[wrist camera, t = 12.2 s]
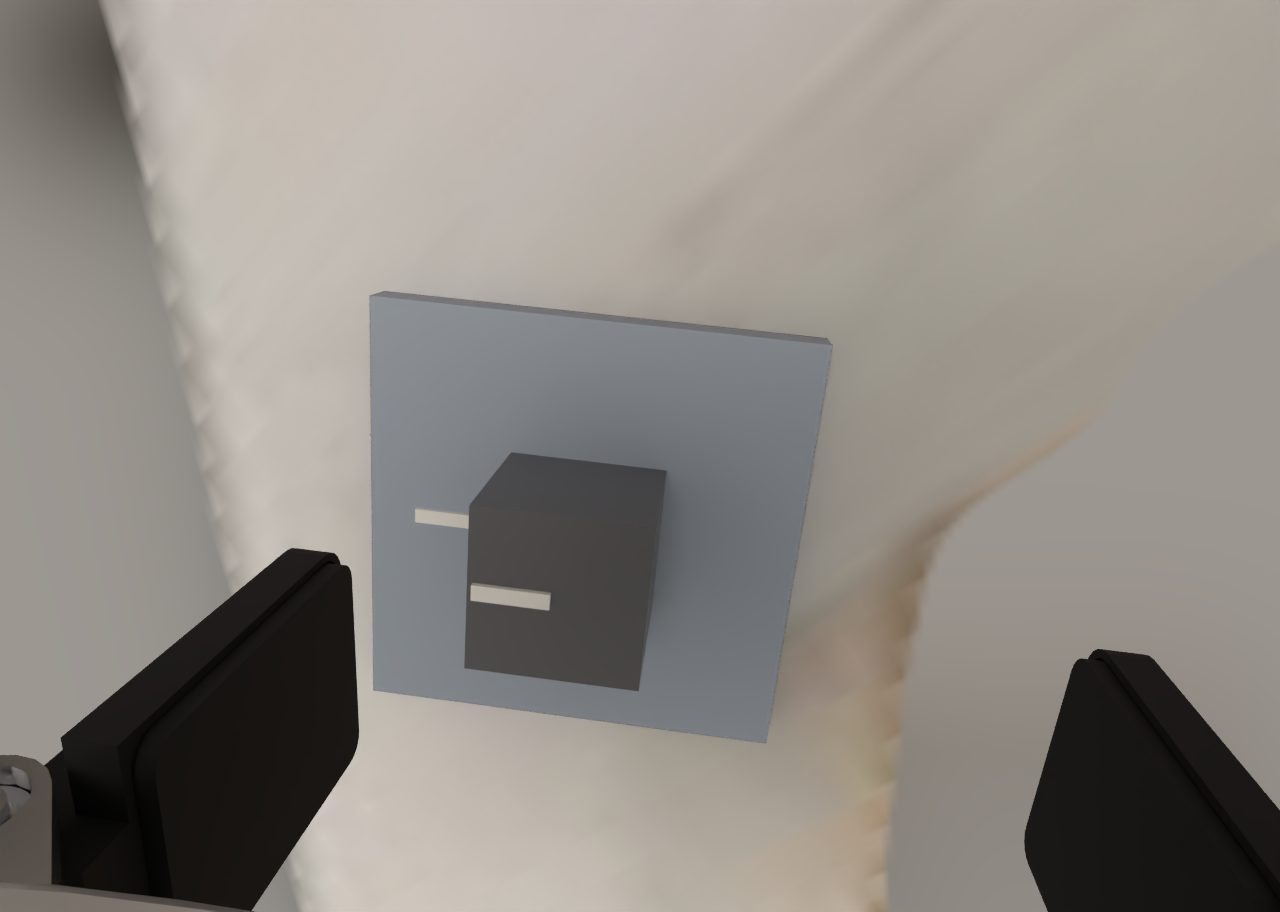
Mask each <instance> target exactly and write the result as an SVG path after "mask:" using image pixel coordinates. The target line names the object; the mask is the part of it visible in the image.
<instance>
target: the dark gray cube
mask: <svg viewBox="0 0 1280 912" xmlns="http://www.w3.org/2000/svg"><path fill="white" fill-rule="evenodd" d="M666 473H667V470H659V469H650V468H641V467H633V466H624V465H616V464H607V463H599V462H590V461H582V460H573V459H565V458H556V457H547V456H539V455H530V454H522V453H513V452H511V453H510V454H509V455H508V457H507V458H506V459H505V461H504V462H503V463H502V464H501V466H500V467H499V468H498V469H497V471H496V472H495V473H494V474H493V476H492V477H491V478H490V480H489V481H488V482H487V483H486V485H485V486H484V487H483V488H482V490H481V491H480V492H479V493H478V495H477V496H476V497H475V499H474V500H473V501H472V502H471V504H470V505H469V527H468V561H467V594H466V628H465V661H464V668H465V669H473V670H481V671H488V672H496V673H503V674H511V675H518V676H526V677H533V678H541V679H548V680H556V681H564V682H571V683H579V684H586V685H594V686H601V687H609V688H616V689H624V690H631V691H639V687H640V680H641V674H642V668H643V661H644V655H645V649H646V643H647V636H648V630H649V624H650V617H651V611H652V602H653V593H654V583H655V574H656V565H657V556H658V547H659V537H660V528H661V519H662V510H663V501H664V491H665V482H666Z"/></svg>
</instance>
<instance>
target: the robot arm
mask: <svg viewBox="0 0 1280 912" xmlns="http://www.w3.org/2000/svg"><path fill="white" fill-rule="evenodd" d="M358 738H359V721H358V700H357V679H356V657H355V636H354V615H353V593H352V576H351V571H350V569H349V567H348V566H346V565H340V561H339V559H338V556H337V555H336V554H334V553H329V552H321V551H313V550H305V549H297V548H291V549H289V550H287V551H286V552H284V553H283V554H282V555H281V556H280V557H278V558H277V559H276V560H275V561H274V562H272V563H271V564H270V565H269V566H268V567H266V568H265V569H264V570H263V571H262V572H260V573H259V574H258V575H257V576H255V577H254V578H253V579H252V580H251V581H249V582H248V583H247V584H246V585H245V586H243V587H242V588H241V589H240V590H239V591H237V592H236V593H235V594H234V595H233V596H231V597H230V598H229V599H228V600H226V601H225V602H224V603H223V604H222V605H220V606H219V607H218V608H217V609H216V610H214V611H213V612H212V613H211V614H210V615H208V616H207V617H206V618H205V619H204V620H202V621H201V622H200V623H199V624H198V625H196V626H195V627H194V628H193V629H192V630H190V631H189V632H188V633H187V634H185V635H184V636H183V637H182V638H181V639H179V640H178V641H177V642H176V643H175V644H173V645H172V646H171V647H170V648H169V649H167V650H166V651H165V652H164V653H163V654H161V655H160V656H159V657H158V658H156V659H155V660H154V661H153V662H152V663H151V664H149V665H148V666H147V667H146V668H144V669H143V670H142V671H141V672H140V673H138V674H137V675H136V676H135V677H134V678H132V679H131V680H130V681H129V682H127V683H126V684H125V685H124V686H123V687H121V688H120V689H119V690H118V691H117V692H115V693H114V694H113V695H112V696H111V697H109V698H108V699H107V700H106V701H105V702H103V703H102V704H101V705H100V706H98V707H97V708H96V709H95V710H94V711H93V712H91V713H90V714H89V715H88V716H86V717H85V718H84V719H83V720H82V721H80V722H79V723H78V724H77V725H76V726H74V727H73V728H72V729H71V730H70V731H68V732H67V733H66V734H65V735H63V736H62V737H61V742H62V747H63V750H62V751H61V752H60V753H59V754H57V755H56V756H55V757H54V758H53V759H51V760H50V761H49V762H48V763H47V764H46V765H42V764H41V763H39V762H38V761H37V760H35V759H31V758H27V757H23V756H18V755H0V912H254V911H252V909H253V908H254V906H255V904H256V903H257V902H258V900H259V899H260V897H261V896H262V894H263V893H264V891H265V890H266V888H267V887H268V885H269V884H270V882H271V881H272V879H273V877H274V876H275V875H276V873H277V872H278V870H279V869H280V867H281V865H282V864H283V863H284V861H285V860H286V858H287V857H288V855H289V854H290V852H291V851H292V849H293V848H294V846H295V845H296V843H297V842H298V840H299V839H300V837H301V836H302V834H303V833H304V831H305V830H306V828H307V827H308V825H309V824H310V822H311V821H312V819H313V818H314V816H315V815H316V813H317V812H318V810H319V809H320V807H321V806H322V804H323V803H324V801H325V800H326V798H327V797H328V795H329V794H330V792H331V791H332V789H333V788H334V786H335V785H336V783H337V782H338V780H339V779H340V777H341V776H342V774H343V773H344V771H345V770H346V768H347V767H348V765H349V764H350V762H351V760H352V759H353V756H354V754H355V751H356V748H357V744H358ZM1024 842H1025V853H1026V858H1027V861H1028V864H1029V867H1030V869H1031V872H1032V874H1033V876H1034V879H1035V881H1036V884H1037V886H1038V889H1039V891H1040V893H1041V896H1042V899H1043V901H1044V903H1045V905H1046V908H1047V911H1048V912H1280V810H1279V809H1278V808H1277V806H1276V805H1275V804H1274V803H1273V802H1272V800H1270V798H1269V797H1268V796H1267V794H1266V793H1265V792H1264V791H1263V790H1262V788H1261V787H1260V786H1259V785H1258V784H1257V782H1256V781H1255V780H1254V779H1253V778H1252V777H1251V775H1250V774H1249V773H1248V772H1247V771H1246V769H1245V768H1244V767H1243V766H1242V764H1241V763H1240V762H1239V761H1238V760H1237V759H1236V757H1235V756H1234V755H1233V754H1232V753H1231V751H1230V750H1229V749H1228V748H1227V747H1226V745H1225V744H1224V743H1223V742H1222V741H1221V739H1220V738H1219V737H1218V736H1217V735H1216V733H1215V732H1214V731H1213V730H1212V729H1211V727H1210V726H1209V725H1208V724H1207V723H1206V721H1205V720H1204V719H1203V718H1202V717H1201V715H1200V714H1199V713H1198V712H1197V711H1196V709H1195V708H1194V707H1193V706H1192V705H1191V703H1190V702H1189V701H1188V700H1187V699H1186V698H1185V696H1184V695H1183V694H1182V693H1181V691H1180V690H1179V689H1178V688H1177V687H1176V685H1175V684H1174V683H1173V682H1172V681H1171V680H1170V678H1169V677H1168V676H1167V675H1166V674H1165V672H1164V671H1163V670H1162V669H1161V668H1160V666H1159V665H1158V664H1157V663H1156V662H1155V660H1154V659H1152V658H1151V657H1150V656H1148V655H1143V654H1135V653H1127V652H1118V651H1110V650H1103V649H1097V650H1095V651H1093V652H1092V654H1091V655H1090V656H1089V658H1088V659H1079V660H1077V661H1076V663H1075V664H1074V666H1073V668H1072V671H1071V674H1070V678H1069V681H1068V685H1067V689H1066V692H1065V695H1064V699H1063V702H1062V705H1061V709H1060V713H1059V716H1058V719H1057V723H1056V726H1055V730H1054V733H1053V737H1052V740H1051V743H1050V747H1049V750H1048V754H1047V757H1046V761H1045V764H1044V768H1043V771H1042V774H1041V778H1040V781H1039V785H1038V788H1037V792H1036V795H1035V798H1034V802H1033V805H1032V809H1031V812H1030V816H1029V819H1028V822H1027V826H1026V830H1025V840H1024Z"/></svg>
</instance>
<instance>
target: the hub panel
mask: <svg viewBox="0 0 1280 912" xmlns="http://www.w3.org/2000/svg"><path fill="white" fill-rule="evenodd" d="M831 351H832V344H831V343H830V341H829V340H828V339H827V338H818V337H809V336H799V335H790V334H781V333H771V332H762V331H753V330H743V329H734V328H724V327H715V326H706V325H696V324H687V323H678V322H668V321H659V320H650V319H640V318H631V317H622V316H612V315H603V314H593V313H584V312H575V311H565V310H556V309H547V308H537V307H528V306H519V305H509V304H500V303H490V302H481V301H472V300H462V299H453V298H444V297H434V296H425V295H416V294H406V293H397V292H388V291H383V292H380V293H376V294H373V295H370V396H371V497H372V599H373V690H374V691H381V692H389V693H396V694H404V695H411V696H418V697H426V698H433V699H441V700H448V701H455V702H463V703H470V704H478V705H485V706H492V707H500V708H507V709H515V710H522V711H529V712H537V713H544V714H552V715H559V716H566V717H574V718H581V719H589V720H596V721H604V722H611V723H618V724H626V725H633V726H641V727H648V728H655V729H663V730H670V731H678V732H685V733H692V734H700V735H707V736H715V737H722V738H729V739H737V740H744V741H752V742H759V743H766V741H767V735H768V729H769V723H770V717H771V711H772V705H773V699H774V693H775V687H776V681H777V675H778V669H779V663H780V657H781V651H782V645H783V639H784V633H785V627H786V621H787V615H788V609H789V603H790V597H791V591H792V585H793V579H794V573H795V567H796V561H797V555H798V549H799V543H800V537H801V531H802V525H803V519H804V513H805V507H806V501H807V495H808V489H809V483H810V477H811V471H812V465H813V459H814V453H815V447H816V441H817V435H818V429H819V423H820V417H821V411H822V405H823V399H824V393H825V387H826V381H827V375H828V369H829V363H830V357H831ZM511 452H513V453H522V454H530V455H539V456H547V457H556V458H565V459H573V460H582V461H590V462H599V463H607V464H616V465H624V466H633V467H641V468H650V469H659V470H667V473H666V482H665V491H664V501H663V510H662V519H661V528H660V537H659V547H658V556H657V565H656V574H655V583H654V593H653V602H652V611H651V617H650V624H649V630H648V636H647V643H646V649H645V655H644V661H643V668H642V674H641V680H640V687H639V691H631V690H624V689H616V688H609V687H601V686H594V685H586V684H579V683H571V682H564V681H556V680H548V679H541V678H533V677H526V676H518V675H511V674H503V673H496V672H488V671H481V670H473V669H465V668H464V661H465V628H466V594H467V561H468V527H469V505H470V504H471V502H472V501H473V500H474V499H475V497H476V496H477V495H478V493H479V492H480V491H481V490H482V488H483V487H484V486H485V485H486V483H487V482H488V481H489V480H490V478H491V477H492V476H493V474H494V473H495V472H496V471H497V469H498V468H499V467H500V466H501V464H502V463H503V462H504V461H505V459H506V458H507V457H508V455H509V454H510V453H511Z"/></svg>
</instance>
